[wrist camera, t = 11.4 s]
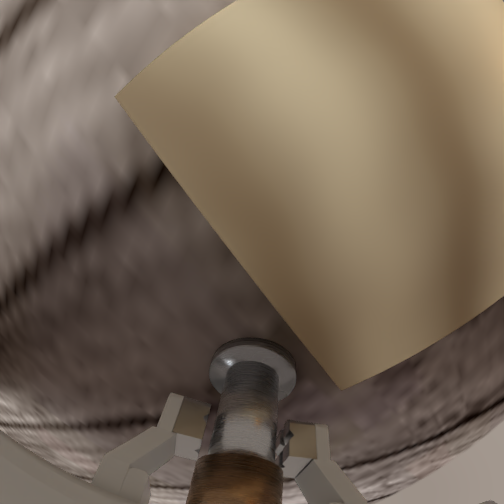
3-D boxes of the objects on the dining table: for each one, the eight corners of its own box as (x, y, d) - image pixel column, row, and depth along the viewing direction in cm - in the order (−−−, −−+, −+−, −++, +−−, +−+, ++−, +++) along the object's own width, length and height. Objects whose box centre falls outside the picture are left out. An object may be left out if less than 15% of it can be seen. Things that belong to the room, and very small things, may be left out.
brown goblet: (244, 403, 13) (219, 558, 6) (195, 357, 12) (136, 530, 5) (311, 378, 12) (315, 556, 5) (265, 324, 11) (239, 539, 4)
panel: (337, 370, 12) (341, 390, 11) (132, 98, 8) (114, 96, 7) (611, 161, 6) (624, 166, 5) (511, -64, 2) (523, -70, 1)
